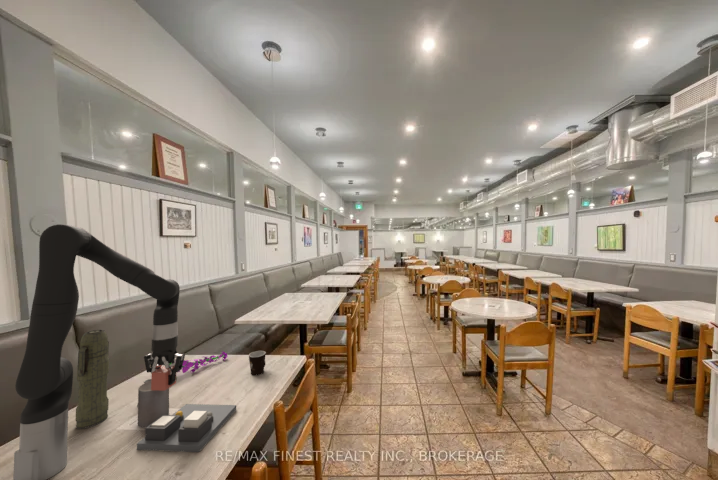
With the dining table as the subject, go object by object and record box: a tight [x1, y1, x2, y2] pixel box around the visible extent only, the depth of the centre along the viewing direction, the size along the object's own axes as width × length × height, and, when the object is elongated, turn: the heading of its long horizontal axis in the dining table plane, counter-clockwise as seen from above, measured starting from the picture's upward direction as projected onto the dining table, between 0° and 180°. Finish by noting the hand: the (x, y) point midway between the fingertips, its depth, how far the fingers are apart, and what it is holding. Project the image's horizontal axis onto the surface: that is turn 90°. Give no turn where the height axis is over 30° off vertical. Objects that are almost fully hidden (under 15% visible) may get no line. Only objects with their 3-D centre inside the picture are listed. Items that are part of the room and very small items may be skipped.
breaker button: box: [184, 411, 207, 428], centre depth 89 cm, size 5×5×4 cm
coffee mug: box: [248, 350, 267, 376], centre depth 137 cm, size 12×9×10 cm
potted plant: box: [169, 351, 228, 374], centre depth 143 cm, size 12×16×35 cm
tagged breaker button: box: [151, 416, 175, 427], centre depth 90 cm, size 5×5×4 cm
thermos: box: [75, 329, 110, 430], centre depth 101 cm, size 9×12×35 cm
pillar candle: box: [137, 381, 170, 428], centre depth 101 cm, size 10×10×15 cm
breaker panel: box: [136, 403, 237, 453], centre depth 95 cm, size 22×22×6 cm
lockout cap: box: [150, 365, 177, 391], centre depth 91 cm, size 5×5×6 cm
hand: (163, 383), depth 90 cm, fingers closed on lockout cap, 5 cm apart
